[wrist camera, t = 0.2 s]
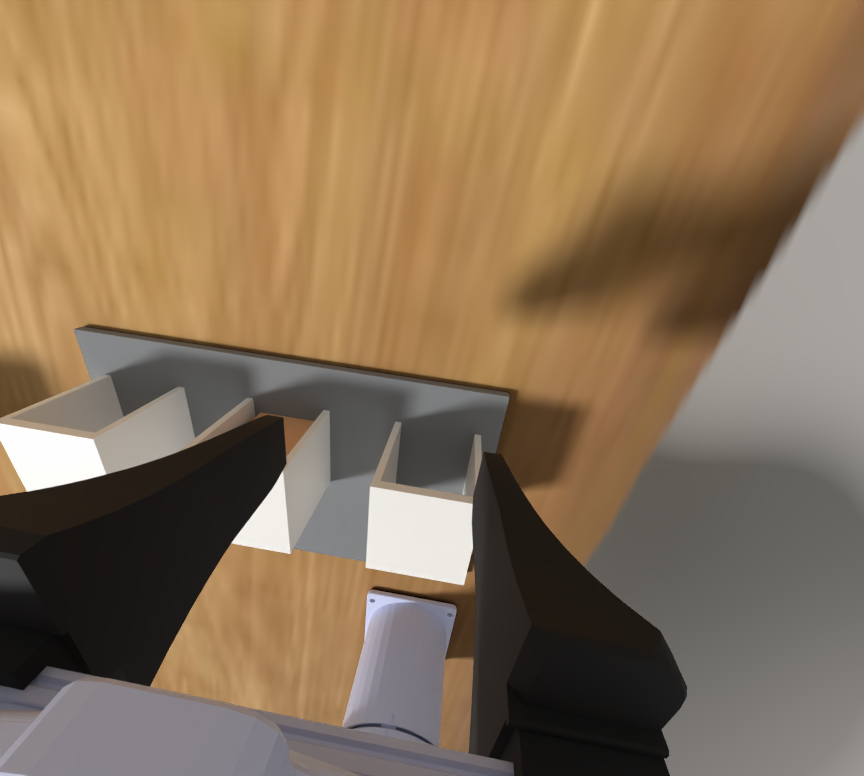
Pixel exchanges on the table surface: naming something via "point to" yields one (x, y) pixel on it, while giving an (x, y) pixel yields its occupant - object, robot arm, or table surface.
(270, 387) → the mat
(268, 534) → the white u-channel shell
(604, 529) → the table surface
